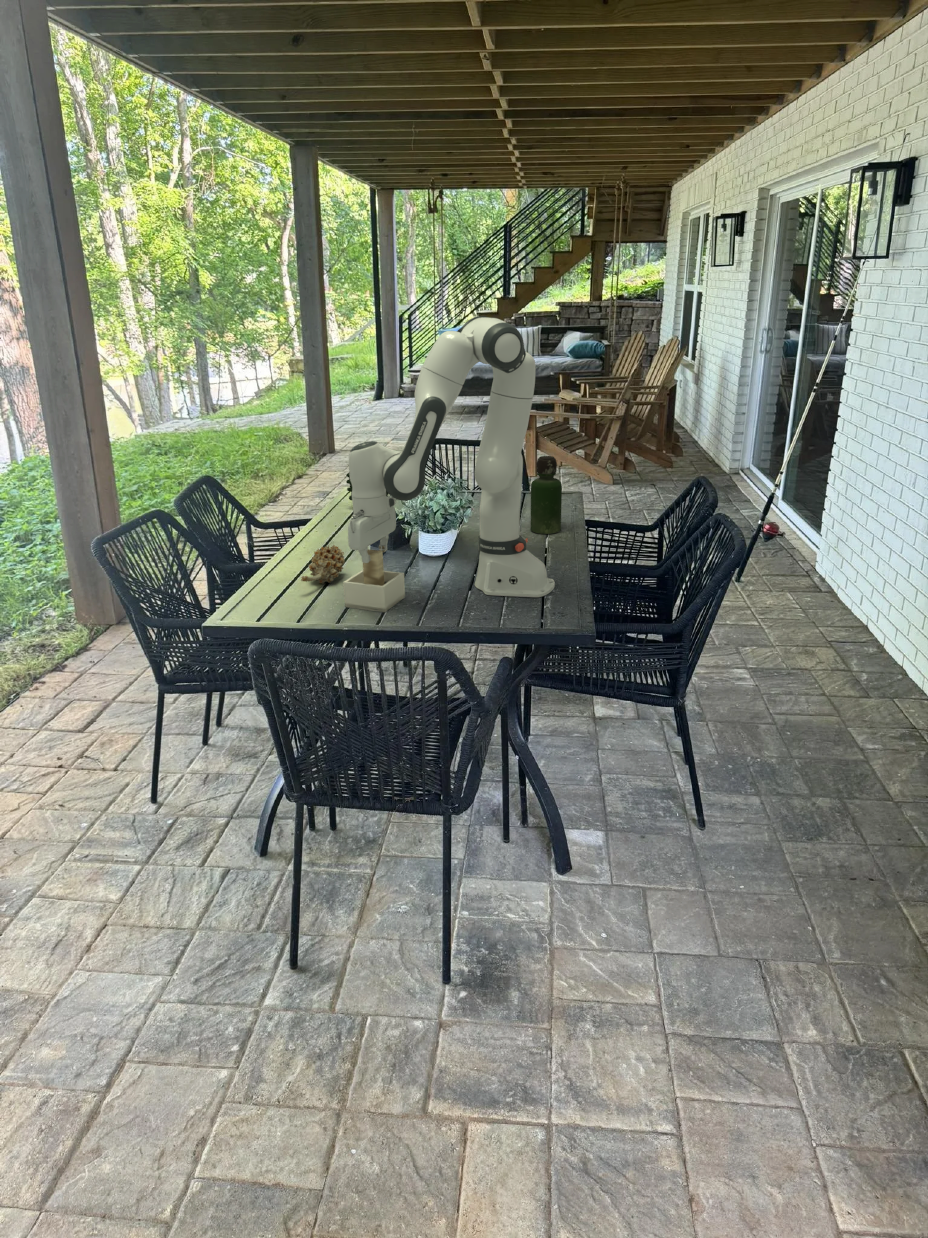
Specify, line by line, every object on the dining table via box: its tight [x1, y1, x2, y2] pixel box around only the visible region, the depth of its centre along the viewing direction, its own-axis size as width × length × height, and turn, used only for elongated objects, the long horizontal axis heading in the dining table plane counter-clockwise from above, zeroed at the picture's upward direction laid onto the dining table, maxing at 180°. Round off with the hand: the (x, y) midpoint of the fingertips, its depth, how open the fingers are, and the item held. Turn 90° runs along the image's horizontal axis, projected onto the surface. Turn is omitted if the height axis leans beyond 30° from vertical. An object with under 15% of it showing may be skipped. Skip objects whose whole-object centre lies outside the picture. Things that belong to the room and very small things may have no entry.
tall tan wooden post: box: [362, 548, 385, 586], centre depth 230 cm, size 4×3×13 cm, turn 68°
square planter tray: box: [342, 569, 406, 613], centre depth 231 cm, size 12×12×7 cm
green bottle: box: [530, 455, 563, 535], centre depth 289 cm, size 10×10×25 cm
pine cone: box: [300, 544, 346, 585], centre depth 245 cm, size 22×10×10 cm, turn 167°
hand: (375, 556), depth 228 cm, fingers open, 8 cm apart
